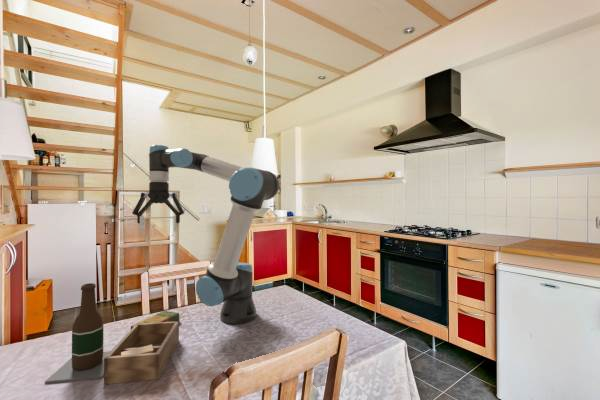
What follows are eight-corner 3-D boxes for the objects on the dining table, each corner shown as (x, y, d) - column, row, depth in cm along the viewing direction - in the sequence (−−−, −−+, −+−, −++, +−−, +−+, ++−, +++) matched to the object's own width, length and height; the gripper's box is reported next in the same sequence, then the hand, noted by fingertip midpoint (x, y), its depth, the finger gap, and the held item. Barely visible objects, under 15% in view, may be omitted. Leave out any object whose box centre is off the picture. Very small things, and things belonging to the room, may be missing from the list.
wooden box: (178, 340, 101) (178, 321, 101) (158, 379, 80) (158, 354, 80) (136, 343, 99) (136, 323, 99) (103, 384, 77) (103, 358, 77)
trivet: (123, 352, 94) (123, 350, 94) (101, 378, 80) (101, 376, 80) (76, 355, 91) (76, 353, 91) (44, 383, 77) (44, 381, 77)
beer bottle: (83, 357, 89) (83, 281, 89) (109, 356, 90) (109, 280, 90) (64, 372, 81) (65, 288, 81) (93, 371, 82) (93, 288, 82)
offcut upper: (151, 354, 87) (151, 344, 87) (153, 360, 83) (153, 350, 83) (120, 362, 82) (120, 352, 82) (121, 369, 79) (121, 358, 79)
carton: (129, 336, 105) (129, 325, 105) (164, 319, 120) (164, 309, 120) (147, 340, 102) (147, 328, 102) (179, 322, 117) (179, 312, 117)
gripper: (191, 182, 128) (191, 229, 128) (131, 181, 124) (131, 230, 124) (187, 181, 121) (187, 231, 121) (123, 180, 117) (123, 232, 117)
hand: (158, 231), depth 123 cm, fingers open, 13 cm apart
